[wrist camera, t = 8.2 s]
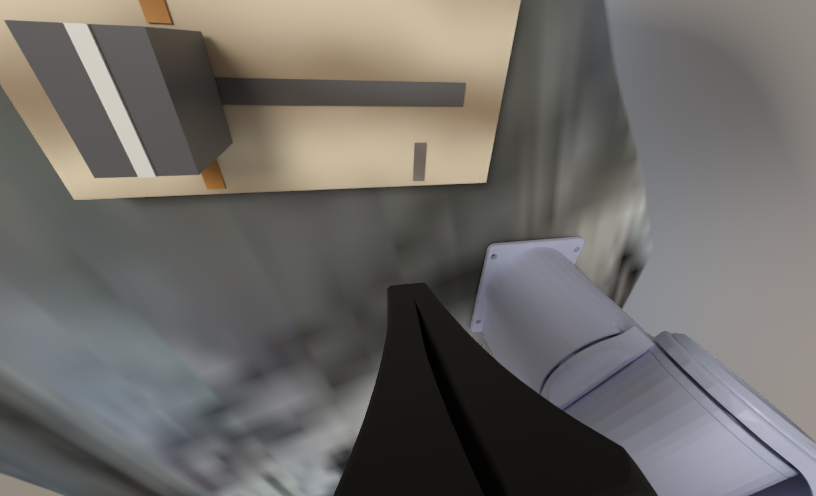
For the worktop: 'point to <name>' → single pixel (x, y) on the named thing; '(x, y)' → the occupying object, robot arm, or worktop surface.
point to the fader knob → (130, 95)
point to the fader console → (305, 90)
